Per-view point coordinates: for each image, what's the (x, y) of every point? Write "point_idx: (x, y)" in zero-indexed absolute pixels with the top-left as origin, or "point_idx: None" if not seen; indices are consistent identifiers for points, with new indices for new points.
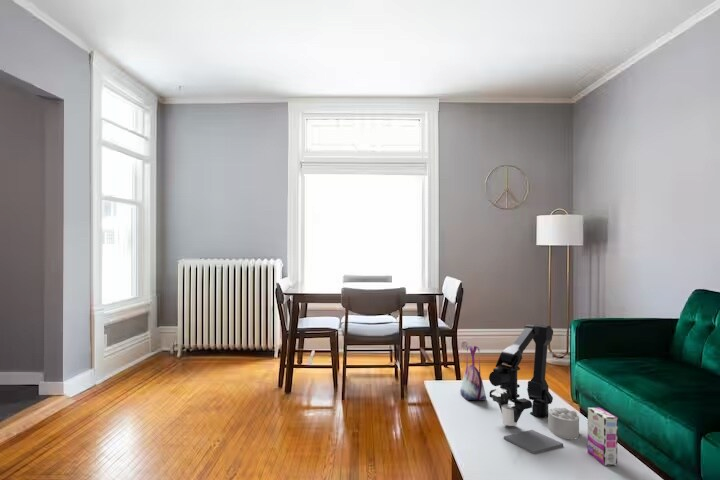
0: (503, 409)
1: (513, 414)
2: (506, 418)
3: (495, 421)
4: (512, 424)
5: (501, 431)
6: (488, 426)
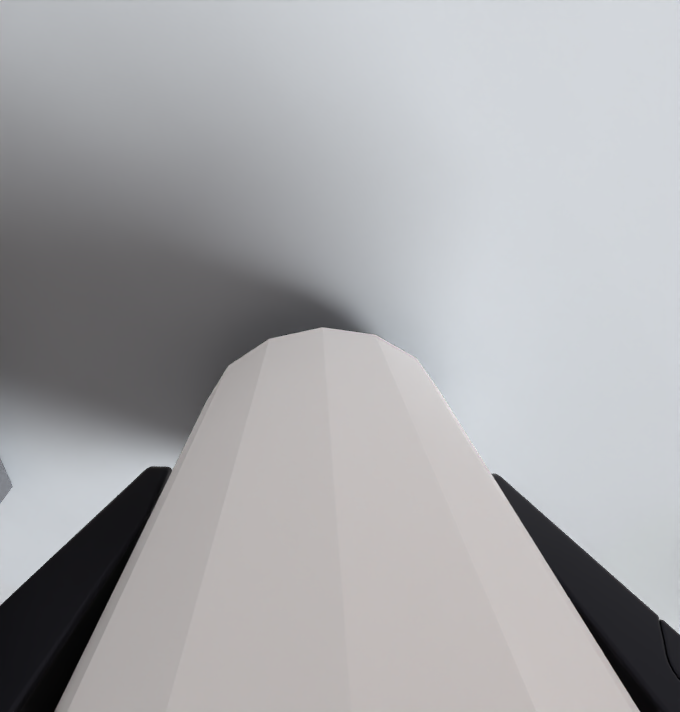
0: (434, 659)
1: (100, 629)
2: (284, 413)
3: (591, 368)
4: (205, 406)
5: (213, 68)
6: (586, 46)
